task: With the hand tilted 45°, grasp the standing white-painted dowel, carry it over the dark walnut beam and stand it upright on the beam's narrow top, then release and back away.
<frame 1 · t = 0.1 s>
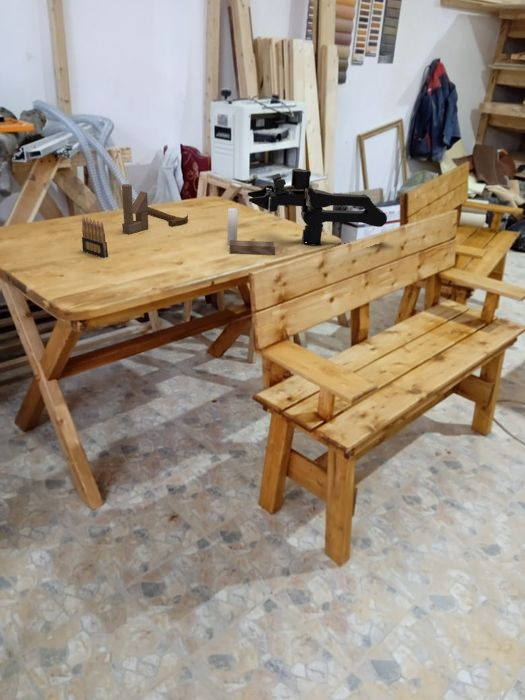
hand: (248, 196, 207), 17 cm above the table, tool horizontal, fingers open, 9 cm apart
brown wooden bracket: (135, 231, 218), on the table
ammunition clip: (95, 254, 191), on the table
beam: (251, 251, 203), on the table
dowel: (231, 244, 210), on the table
hammer: (161, 218, 238), on the table
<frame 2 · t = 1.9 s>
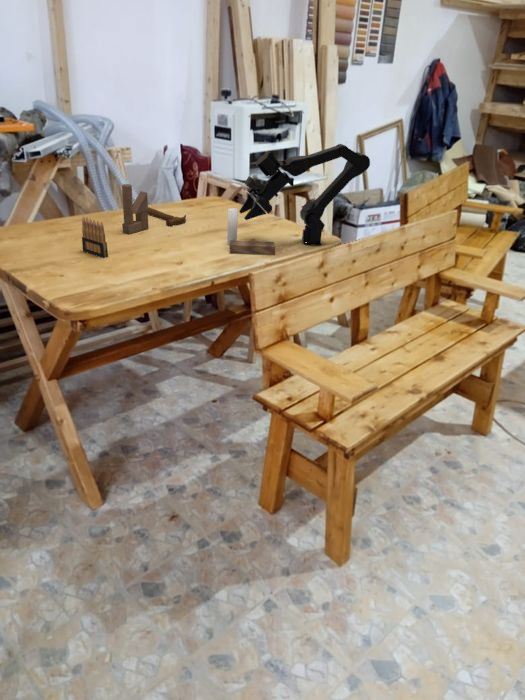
hand: (242, 215, 205), 11 cm above the table, tool tilted 45°, fingers open, 9 cm apart
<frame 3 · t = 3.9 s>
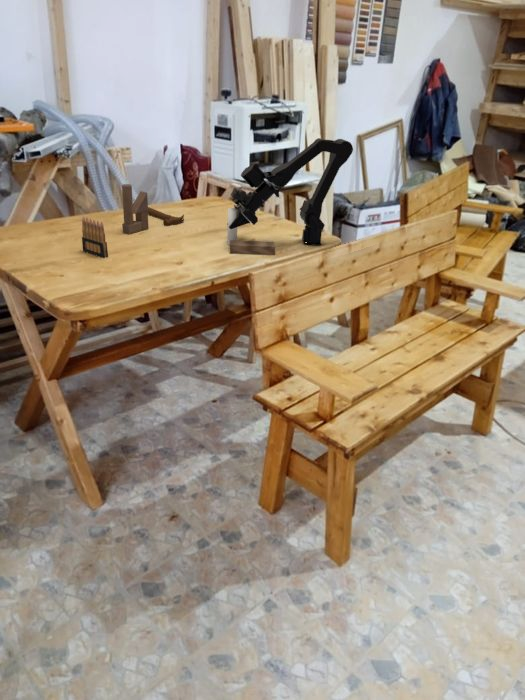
hand: (228, 226, 206), 7 cm above the table, tool tilted 45°, fingers closed on dowel, 4 cm apart
dowel: (231, 244, 210), on the table, touching gripper
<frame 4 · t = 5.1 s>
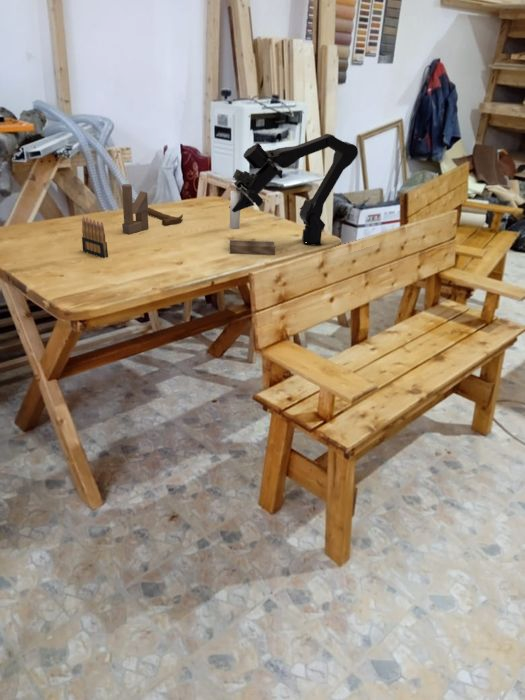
hand: (231, 209, 201), 13 cm above the table, tool tilted 45°, fingers closed on dowel, 4 cm apart
dowel: (234, 227, 204), point 7 cm above the table, touching gripper
when the fingers open (10 cm above the table, at t = 6.5 s): dowel stays where it is, resting on beam.
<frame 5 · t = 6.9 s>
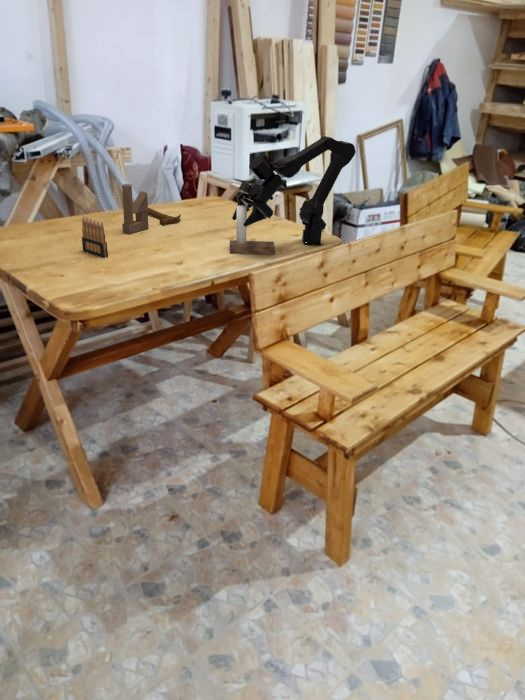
hand: (238, 222, 197), 11 cm above the table, tool tilted 45°, fingers open, 8 cm apart
dowel: (241, 242, 201), point 3 cm above the table, touching beam
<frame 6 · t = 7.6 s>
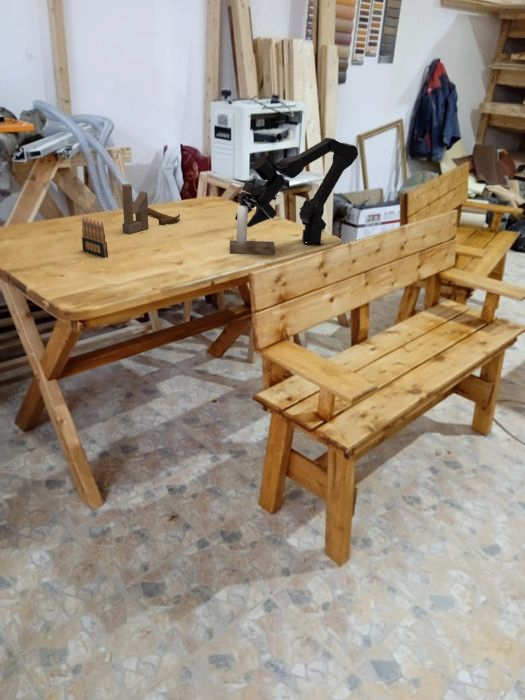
hand: (241, 222, 198), 10 cm above the table, tool tilted 45°, fingers open, 9 cm apart
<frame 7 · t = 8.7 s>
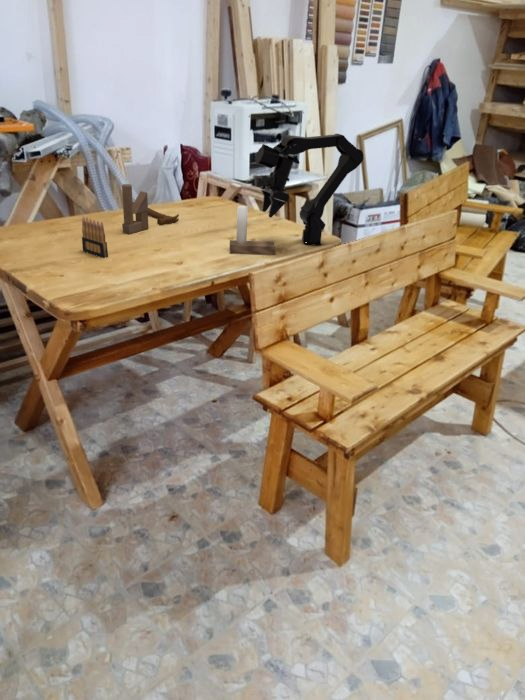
hand: (266, 214, 205), 12 cm above the table, tool tilted 15°, fingers open, 9 cm apart
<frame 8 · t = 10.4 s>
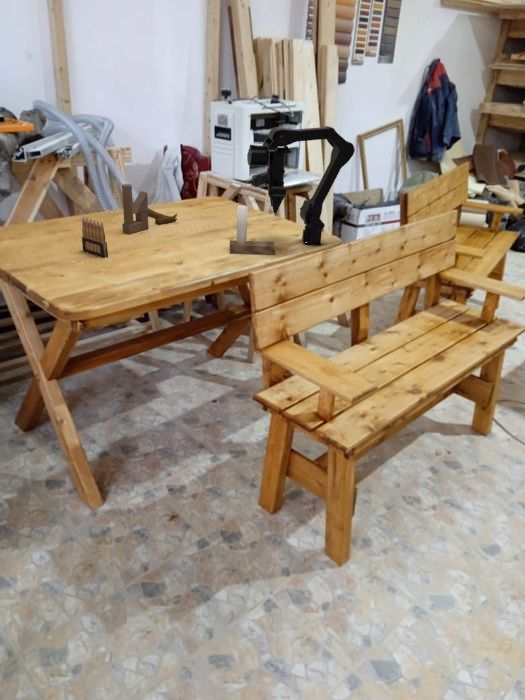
hand: (273, 209, 207), 13 cm above the table, tool pointing down, fingers open, 9 cm apart
at the end: dowel inside the target area on the beam (4.0 cm from its centre), point 3.0 cm above the beam's base; dowel tilted 0°; the gripper is holding nothing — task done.
